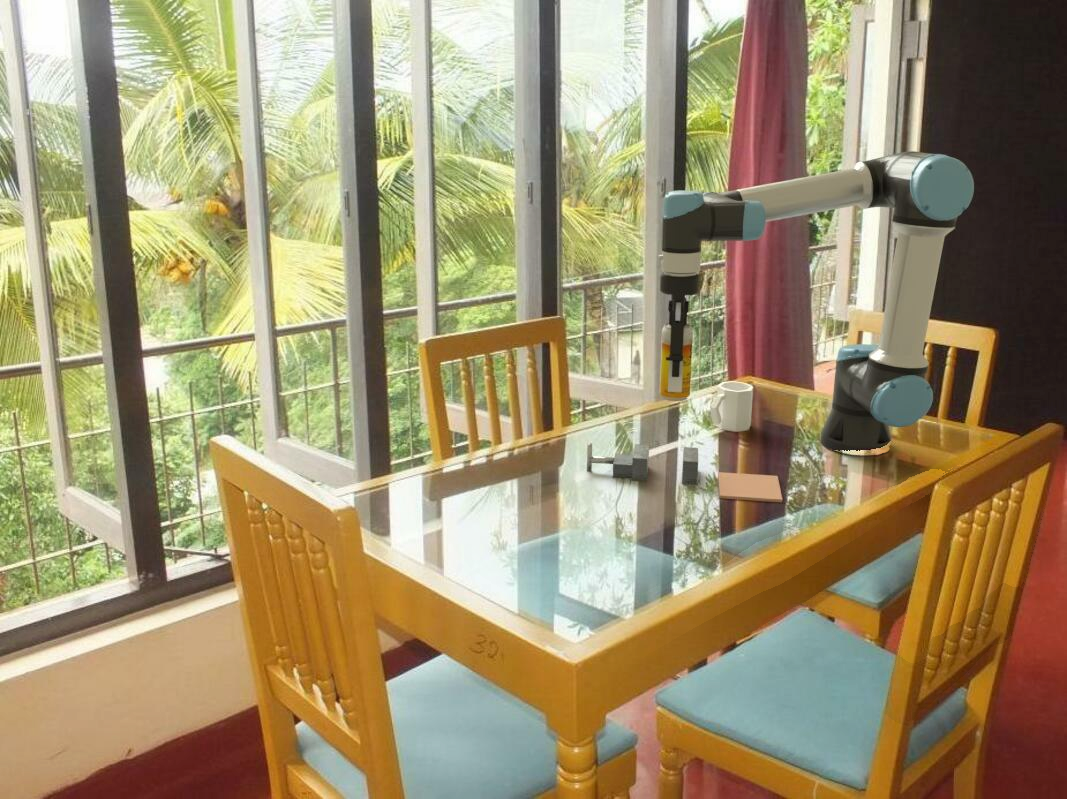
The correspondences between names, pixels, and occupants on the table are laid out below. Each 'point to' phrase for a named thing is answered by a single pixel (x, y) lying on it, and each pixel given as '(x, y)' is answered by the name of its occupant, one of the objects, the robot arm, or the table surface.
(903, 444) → the table surface
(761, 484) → the coaster
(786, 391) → the table surface
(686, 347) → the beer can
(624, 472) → the vise
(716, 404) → the mug
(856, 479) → the table surface
